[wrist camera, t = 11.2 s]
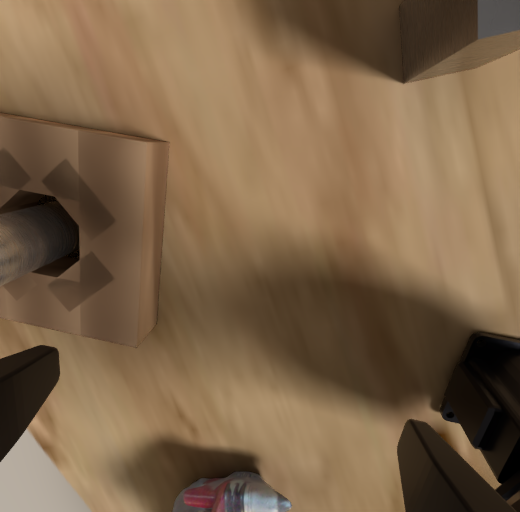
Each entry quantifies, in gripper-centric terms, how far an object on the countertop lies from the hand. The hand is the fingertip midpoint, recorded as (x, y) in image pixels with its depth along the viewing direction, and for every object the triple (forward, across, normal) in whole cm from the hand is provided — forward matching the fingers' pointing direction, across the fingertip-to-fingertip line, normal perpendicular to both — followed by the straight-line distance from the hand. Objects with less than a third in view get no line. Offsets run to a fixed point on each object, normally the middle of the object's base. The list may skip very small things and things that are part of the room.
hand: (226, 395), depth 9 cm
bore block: (+13, +13, +1) cm, 18 cm away
